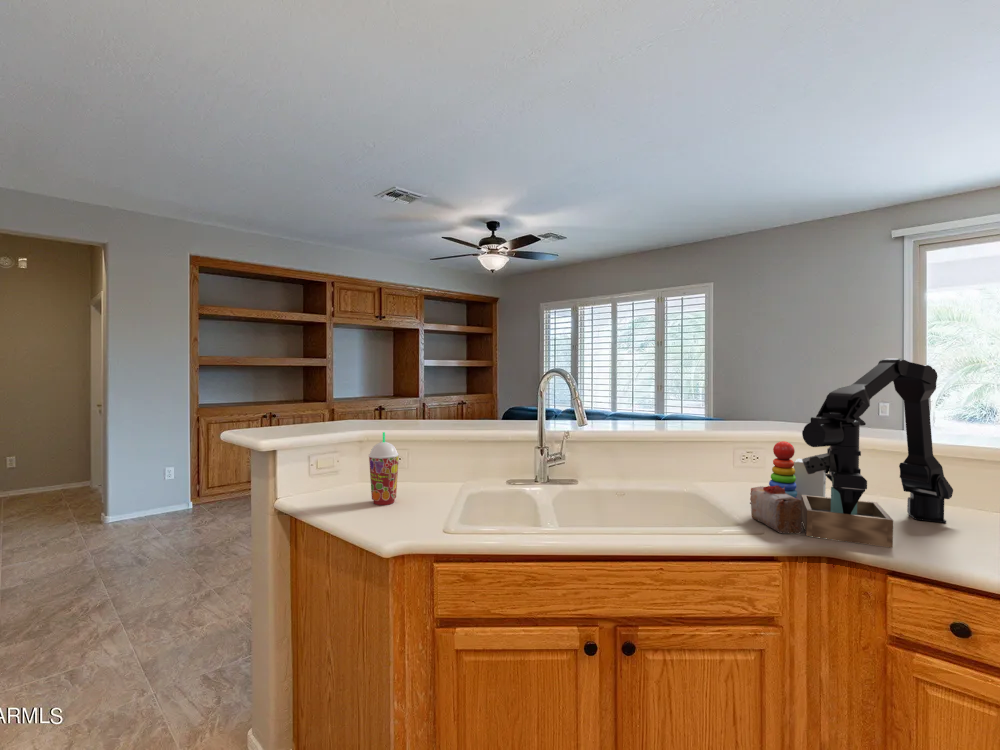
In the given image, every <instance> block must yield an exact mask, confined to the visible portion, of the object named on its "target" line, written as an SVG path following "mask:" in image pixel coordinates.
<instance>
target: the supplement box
mask: <svg viewBox="0 0 1000 750" xmlns="http://www.w3.org/2000/svg"><path fill="white" fill-rule="evenodd" d="M802 459H803V458H796V459H795V461H793V462H794V466H793V468H794V469H795V474H794V476H795V477H796V481H795V483H796V486H797V487H796V489H795V490H796V491H797V496H796V497H797V498H798V499H799V500H801V495H810V496H820V497H826V489H827V487H826V483H827V477H826V475H825V474H827V473H825V472H824V470H822V471H818V472H815V473H813V474H808V473H807V471H806V469H805V466H804V463H803V461H802Z"/></svg>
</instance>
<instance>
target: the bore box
mask: <svg viewBox="0 0 1000 750" xmlns="http://www.w3.org/2000/svg"><path fill="white" fill-rule="evenodd" d="M801 501H802V522H803V523H802V526H803V525H804V526H803V528H805V529H804V531H806V532H805V536H806V537H807V536H813V537H812V538H815V537H820V538H819V539H822V538H827V539H826V540H830V539H833V541H838V540H839V541H840V542H845V541H847V542H846V543H855V544H863V545H870V546H876V547H884V548H892V549H893V547H894V545H893V541H894V519H893V518H892V517H891V516H890V515H889V514H888V513H887V512H886V510H885V509H884V508H883V507H882V506H881V505H880V504H879V502H877V501H870V500H860V499H859V500H858V502H857V515H853V514H843V513H834V512H831V496H830V497H828V496H827V497H826V496H825V497H820V496H810V495H801Z"/></svg>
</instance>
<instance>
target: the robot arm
mask: <svg viewBox="0 0 1000 750" xmlns="http://www.w3.org/2000/svg"><path fill="white" fill-rule="evenodd" d="M937 381H938V372H937V371H936V369H935V368H933V367H932V366H931V365H930V364H927V365H926V364H925V365H924V364H919V363H915V362H911V361H908V360H906V359H902V358H883V359H880V360H879V361H878V364H877V365H875V366H874V367H873V368H871V369H870V370H868V371H867V372H866V373H865V374H863V376H861V377H860V378H859V379H857V380H856V381H855V382H854V383H852V384H849V385H846V386H842V387H838V388H837V389H835V390H833V391H830V392H828V394H827V395H826V398H825V399H824V402H823V404H822V405H821V407H820V409H819V411H818V412H817V414H816V416H813V417H812V416H811V417H810V422H809V423H807V424H806V425H805V426H804V427H803V430H802V432H801V435H802V436H801V437H802V440H804V443H806V445H808V446H810V447H812V448H821V447H827V450H826V453H821V454H816V455H812V456H808V457H804V458H801V459H802V461H803V463H804V466H805V469H806V471H807V473H808V474H813V473H815V472H818V471H822V470H824V472H825V473H826V474H825V475H826V479H828V480H829V481H831V484H832V485H831V487H834V489H836V490H837V491H838V492H839V493H840V499H841V504H842V509H843V514H851V512H852V511H853V509H854V507H855V505H856V504H857V502H858V500H860V499H861V497H862V496H863V494H864V493H865V492H866V490H867V489H868V480H867V479H866V478H865V477H864V476H863V475H862V474H861V468H860V457H861V456H862V451H861V450H860V427H862V426H866V423H867V422H866V421H864V420H863V419H862V418H861V417H862V416H863V414H865V412H866V411H867V410H868V409H869V408H870V406H871V399H872V398H873V397H874V396H876V395H877V394H878V393H880V392H881V391H882V390H883V389H884V388H885V387H887V386H888V385H889V384H891V383H893V385H894V390H895V392H896V393H897V394H898V396H899V397H900V398H901V400H903V407H904V421H905V422H904V423H905V429H906V430H905V431H906V443H907V456H906V458H905V459H904V460H903V462H900V463H899V464H898V465H899V466H898V467H899V471H900V472H899V478H900V481H901V485H902V490H903V492H905V493H906V492H907V493H910V495H909V496H908V497H907V507H906V508H907V509H906V510H907V511H906V512H907V514H908V515H909V516H910V517H911V518H912V519H914V520H917V521H927V522H933V523H934V522H935V523H945V524H946V523H947V520H946V519H945V500H950V499H951V498H952V496H953V494H954V489H953V487H952V486H951V484H950V483H949V481H948V480H947V479H946V477H945V474H944V468H943V465H942V464H940V462H939V461H938V460H937V458H936V457H935V456H934V450H933V448H934V447H933V438H932V436H933V435H932V426H931V425H932V423H931V412H930V398H931V396H933V394H934V393H935V391H936V389H937Z"/></svg>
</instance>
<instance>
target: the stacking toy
mask: <svg viewBox="0 0 1000 750" xmlns="http://www.w3.org/2000/svg"><path fill="white" fill-rule="evenodd" d="M772 451H773V454H774V456H775V457H776V458H774V459H773V460H772V463H773V464H772V465H774V466H773V467H772V468H771V470H772V473H771V474H770V480H769V482H768V486H776V485H779V487H781V488H784V487H785V488H784V490H785V493H786V494H788V495H790V496H792V497H794V498H797V497H796V496H797V491H796V490H795V489H796V487H797V486H796V483H795V481H796V477H795V476H794V474H795V469H794V462H795V461H793V459H792V458H793V457H794V455H795V453H796V451H795V448H794V446H793V445H792V444H791V443H790V442H788V441H784V440H783V441H778V442H776V443H775V444H774V446H773V449H772ZM797 499H798V498H797Z"/></svg>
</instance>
